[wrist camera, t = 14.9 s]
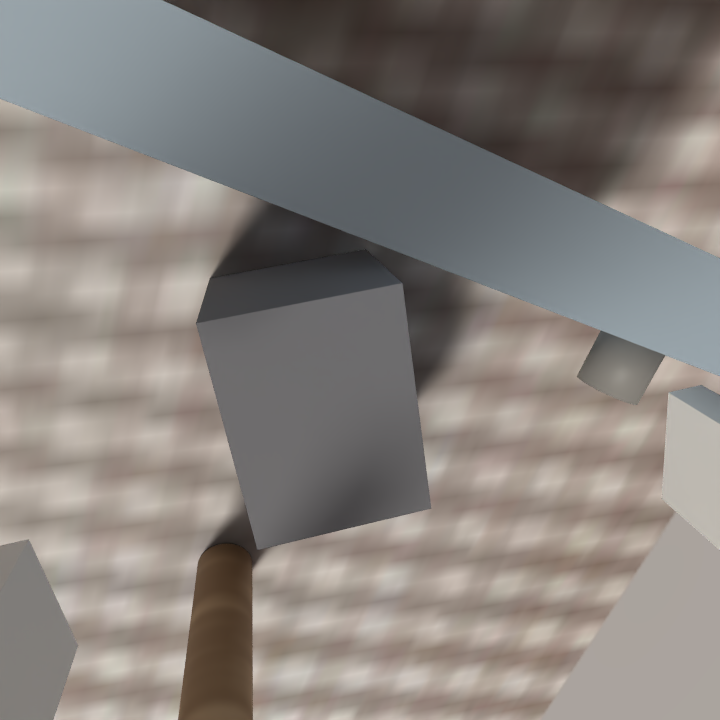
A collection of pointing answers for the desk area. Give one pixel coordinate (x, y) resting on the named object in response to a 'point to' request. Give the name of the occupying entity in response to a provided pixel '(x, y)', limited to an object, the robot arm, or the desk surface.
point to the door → (364, 173)
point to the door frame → (220, 639)
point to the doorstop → (316, 394)
